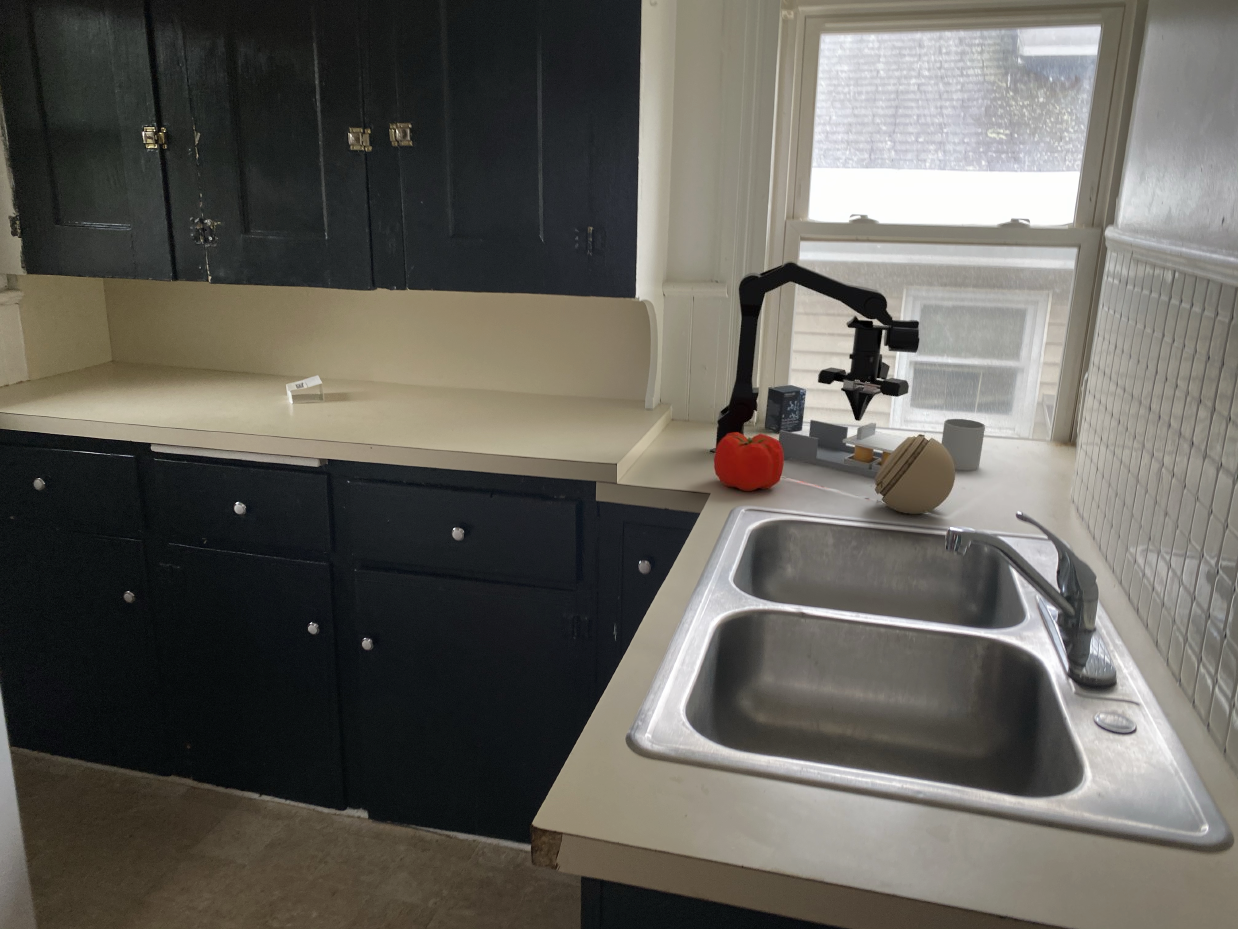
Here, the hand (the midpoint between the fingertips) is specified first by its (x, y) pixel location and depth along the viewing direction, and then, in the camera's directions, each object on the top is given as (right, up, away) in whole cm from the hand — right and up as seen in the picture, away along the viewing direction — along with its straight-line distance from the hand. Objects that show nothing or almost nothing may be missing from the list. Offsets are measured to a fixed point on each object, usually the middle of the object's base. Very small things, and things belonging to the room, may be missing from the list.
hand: (858, 420), depth 209 cm
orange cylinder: (+6, -11, -4) cm, 13 cm away
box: (-11, -1, +29) cm, 31 cm away
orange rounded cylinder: (+1, -10, -1) cm, 10 cm away
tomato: (-26, -14, -17) cm, 34 cm away
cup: (+23, -10, +2) cm, 25 cm away
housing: (-2, -9, +2) cm, 10 cm away
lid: (+4, -5, -4) cm, 8 cm away
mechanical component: (+2, -19, -28) cm, 34 cm away
